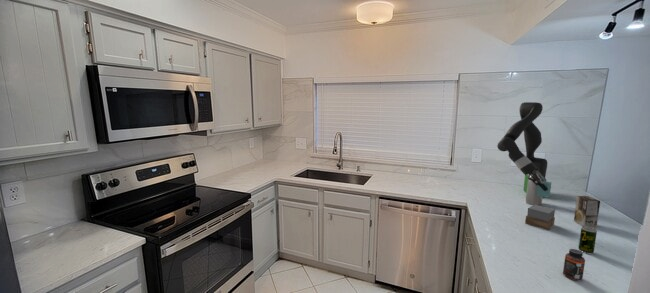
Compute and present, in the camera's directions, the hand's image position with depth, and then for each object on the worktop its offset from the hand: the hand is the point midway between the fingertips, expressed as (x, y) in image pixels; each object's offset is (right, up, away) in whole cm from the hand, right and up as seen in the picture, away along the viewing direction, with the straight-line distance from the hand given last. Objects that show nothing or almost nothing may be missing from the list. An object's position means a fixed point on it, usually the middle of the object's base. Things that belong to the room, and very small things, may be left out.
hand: (547, 189), depth 155 cm
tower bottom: (-1, -22, +5) cm, 22 cm away
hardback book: (+37, -13, +60) cm, 72 cm away
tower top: (-1, -17, +4) cm, 17 cm away
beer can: (-2, -26, -25) cm, 36 cm away
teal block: (-1, -4, +2) cm, 5 cm away
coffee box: (+25, -22, +4) cm, 34 cm away
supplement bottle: (-26, -29, -44) cm, 59 cm away
